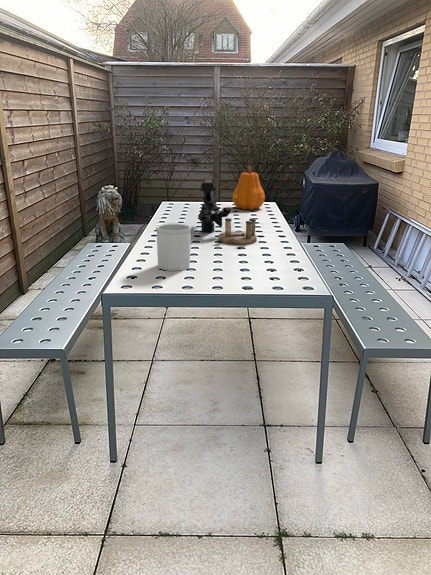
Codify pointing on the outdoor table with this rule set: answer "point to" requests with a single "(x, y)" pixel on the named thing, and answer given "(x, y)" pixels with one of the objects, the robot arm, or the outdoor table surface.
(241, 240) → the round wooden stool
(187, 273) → the outdoor table surface
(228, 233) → the hinged leg
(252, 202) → the decorative pumpkin
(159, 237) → the utensil holder
